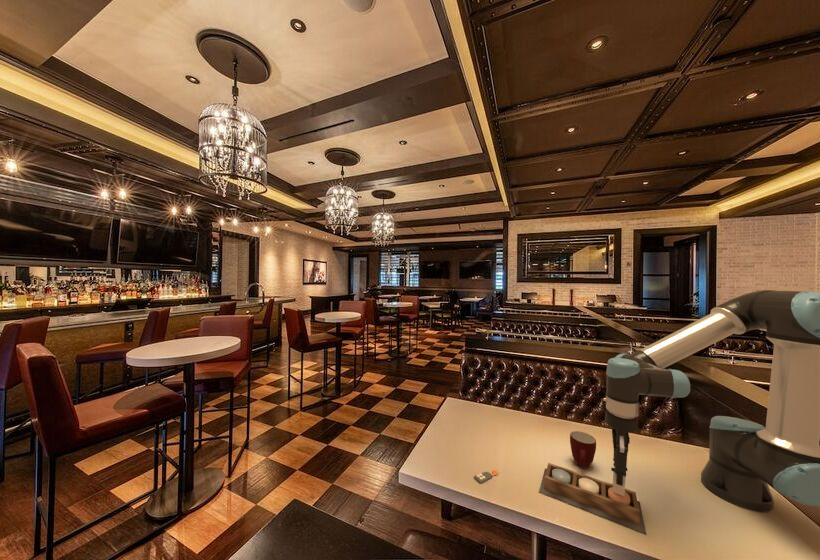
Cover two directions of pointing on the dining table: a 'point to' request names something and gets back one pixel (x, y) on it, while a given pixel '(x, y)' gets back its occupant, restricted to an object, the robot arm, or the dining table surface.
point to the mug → (582, 448)
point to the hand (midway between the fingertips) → (618, 492)
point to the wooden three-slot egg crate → (593, 499)
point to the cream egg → (589, 485)
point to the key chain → (485, 476)
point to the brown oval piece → (619, 497)
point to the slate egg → (561, 475)
